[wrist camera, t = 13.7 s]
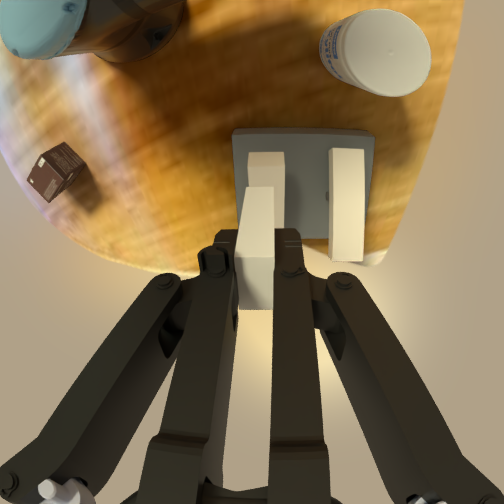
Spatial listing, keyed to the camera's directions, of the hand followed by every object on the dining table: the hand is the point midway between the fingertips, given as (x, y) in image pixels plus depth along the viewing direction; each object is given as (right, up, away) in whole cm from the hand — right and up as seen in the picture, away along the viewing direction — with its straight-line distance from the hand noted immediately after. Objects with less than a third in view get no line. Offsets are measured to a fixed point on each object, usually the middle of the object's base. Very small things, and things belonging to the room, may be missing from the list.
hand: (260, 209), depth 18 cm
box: (-32, +13, +28) cm, 45 cm away
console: (+7, +9, +28) cm, 30 cm away
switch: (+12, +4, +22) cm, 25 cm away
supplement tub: (+13, +25, +17) cm, 33 cm away
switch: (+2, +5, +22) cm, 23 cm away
